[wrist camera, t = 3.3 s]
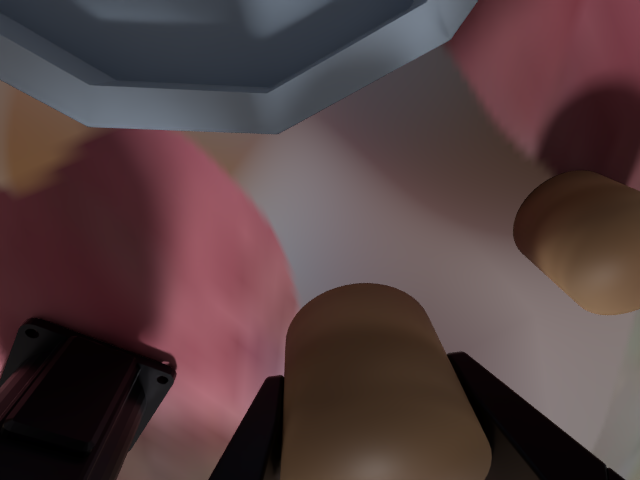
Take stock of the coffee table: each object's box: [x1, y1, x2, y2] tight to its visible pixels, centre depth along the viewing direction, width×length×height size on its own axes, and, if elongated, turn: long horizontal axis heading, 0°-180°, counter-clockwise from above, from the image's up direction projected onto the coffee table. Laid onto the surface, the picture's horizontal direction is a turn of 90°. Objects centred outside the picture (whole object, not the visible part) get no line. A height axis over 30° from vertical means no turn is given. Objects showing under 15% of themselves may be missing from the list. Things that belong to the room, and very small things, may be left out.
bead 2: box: [513, 170, 640, 315], centre depth 13 cm, size 4×4×4 cm
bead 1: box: [280, 283, 492, 480], centre depth 8 cm, size 4×4×4 cm
